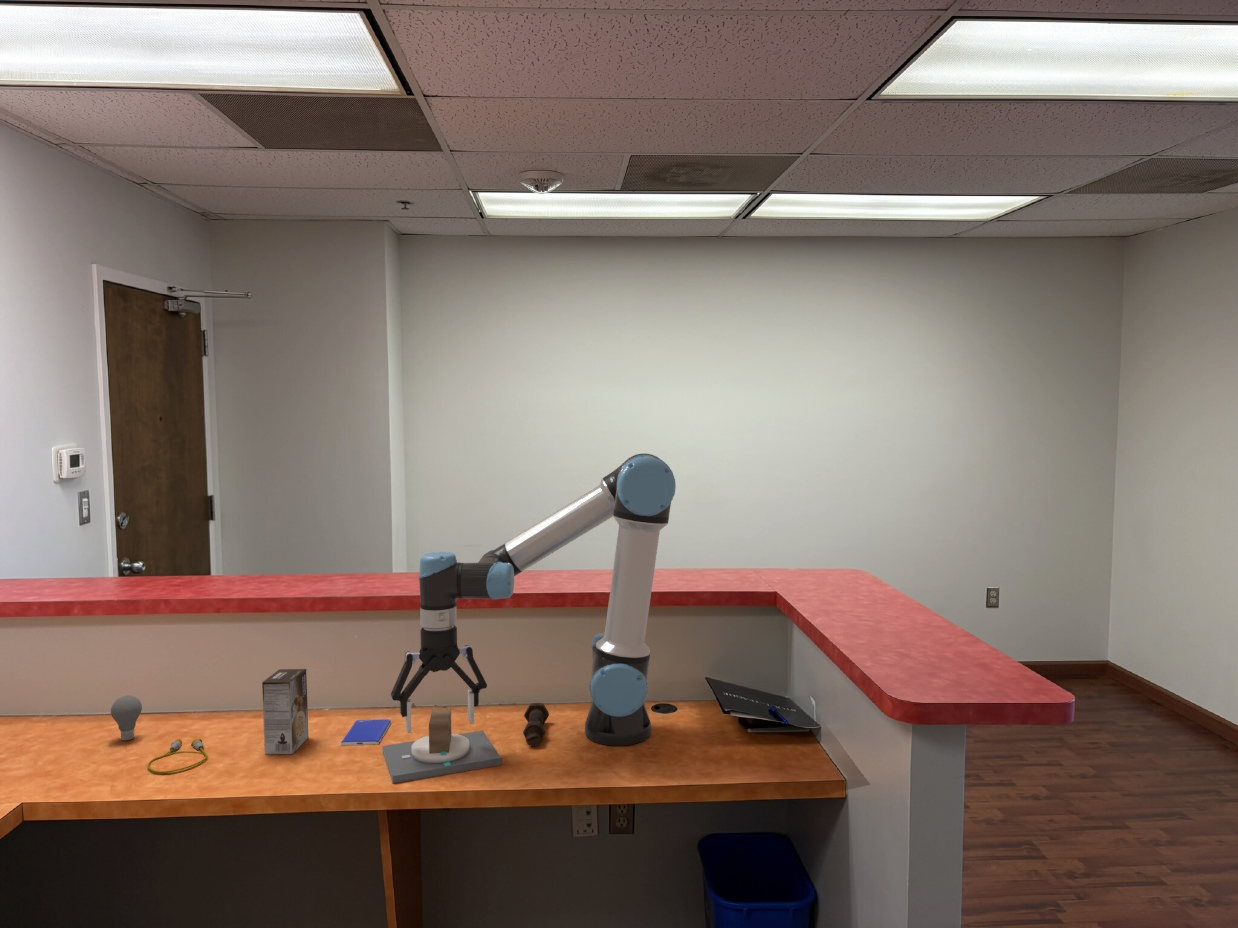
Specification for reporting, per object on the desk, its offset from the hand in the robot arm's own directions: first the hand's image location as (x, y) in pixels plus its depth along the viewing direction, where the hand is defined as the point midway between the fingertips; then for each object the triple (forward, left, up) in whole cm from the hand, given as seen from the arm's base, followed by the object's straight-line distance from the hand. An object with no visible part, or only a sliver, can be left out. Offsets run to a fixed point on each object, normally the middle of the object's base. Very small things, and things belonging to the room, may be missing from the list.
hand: (440, 726), depth 173 cm
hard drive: (+13, -20, -8) cm, 25 cm away
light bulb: (+63, -38, -7) cm, 74 cm away
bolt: (-22, -4, -8) cm, 24 cm away
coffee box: (+30, -20, -7) cm, 37 cm away
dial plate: (0, 0, -7) cm, 7 cm away
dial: (0, 0, -5) cm, 5 cm away
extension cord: (+51, -22, -8) cm, 56 cm away
